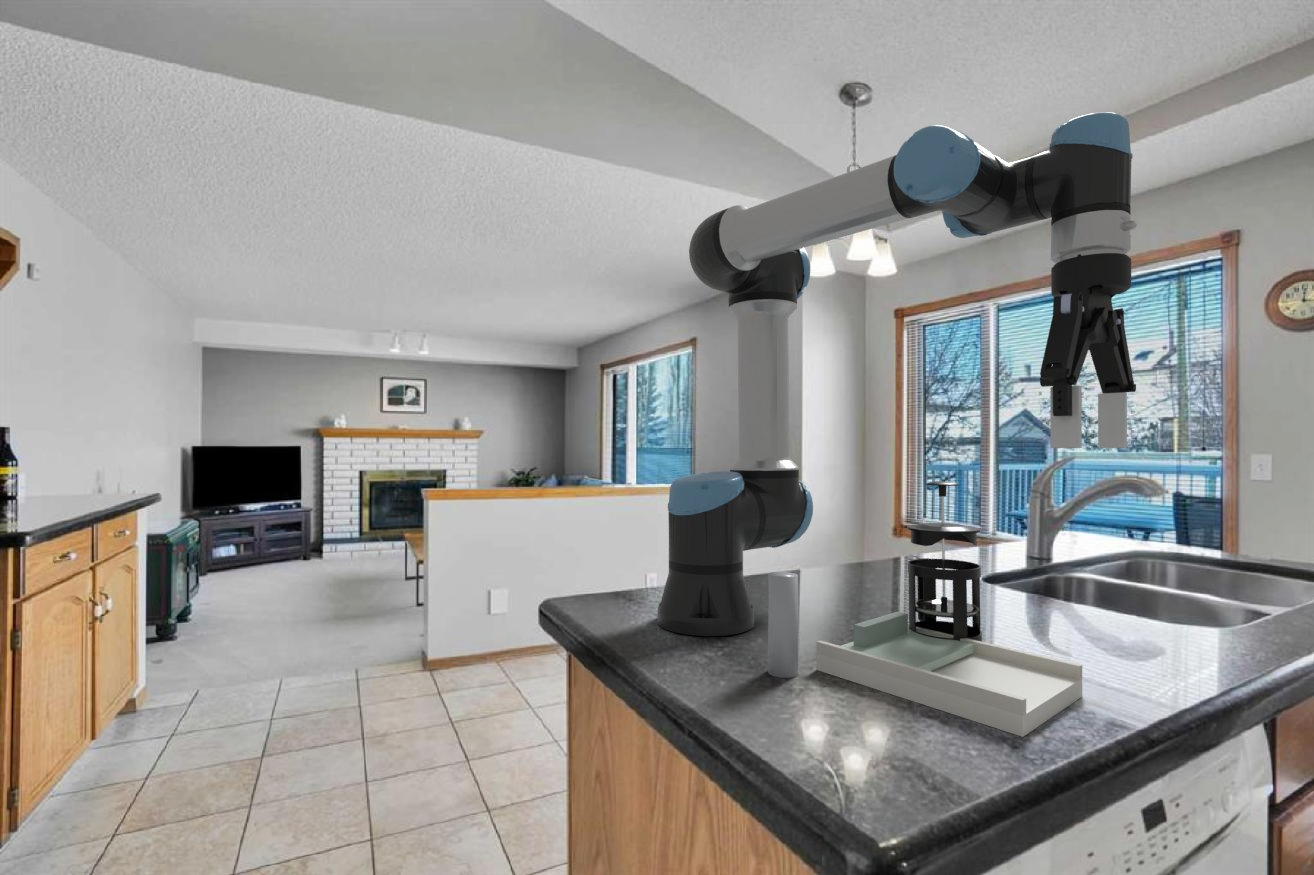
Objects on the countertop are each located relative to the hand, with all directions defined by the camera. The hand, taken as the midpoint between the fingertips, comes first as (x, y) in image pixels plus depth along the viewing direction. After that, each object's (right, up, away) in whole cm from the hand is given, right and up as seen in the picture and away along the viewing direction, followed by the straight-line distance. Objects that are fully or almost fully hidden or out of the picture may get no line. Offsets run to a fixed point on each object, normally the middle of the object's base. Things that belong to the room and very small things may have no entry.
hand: (1090, 448), depth 73 cm
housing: (-15, -28, +4) cm, 32 cm away
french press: (-10, -28, +14) cm, 33 cm away
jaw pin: (-33, -28, +7) cm, 44 cm away
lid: (-18, -25, +7) cm, 32 cm away
